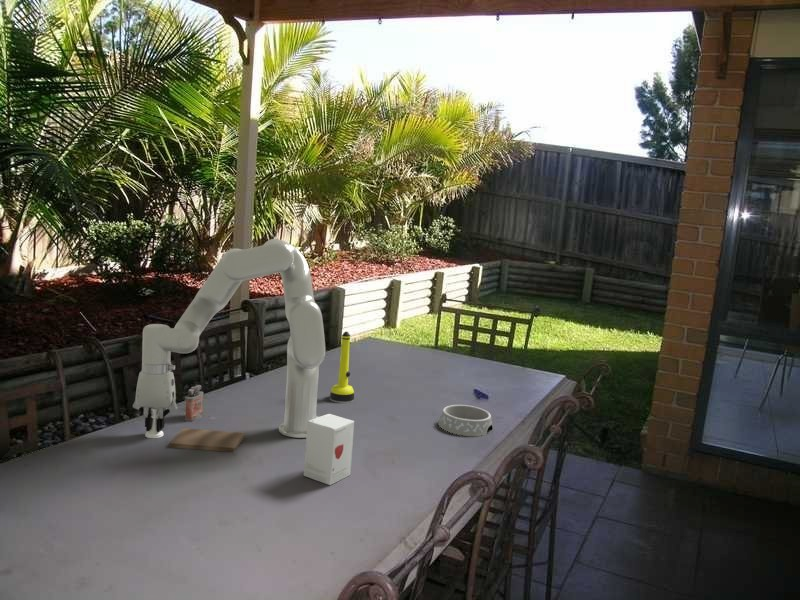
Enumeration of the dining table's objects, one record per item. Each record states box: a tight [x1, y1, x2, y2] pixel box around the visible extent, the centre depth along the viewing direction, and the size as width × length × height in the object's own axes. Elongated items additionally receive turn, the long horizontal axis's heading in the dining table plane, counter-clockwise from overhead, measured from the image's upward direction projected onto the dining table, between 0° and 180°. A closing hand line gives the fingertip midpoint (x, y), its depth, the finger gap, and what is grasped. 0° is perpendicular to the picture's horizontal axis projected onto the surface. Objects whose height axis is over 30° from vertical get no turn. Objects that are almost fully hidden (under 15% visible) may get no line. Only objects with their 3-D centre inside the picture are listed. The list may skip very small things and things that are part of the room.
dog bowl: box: [437, 404, 493, 437], centre depth 214 cm, size 17×18×5 cm
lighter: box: [184, 384, 204, 423], centre depth 202 cm, size 8×3×10 cm, turn 168°
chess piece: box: [145, 408, 164, 439], centre depth 185 cm, size 5×5×10 cm
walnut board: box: [168, 427, 246, 453], centre depth 184 cm, size 18×12×1 cm, turn 90°
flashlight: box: [329, 331, 355, 404], centre depth 232 cm, size 25×9×9 cm
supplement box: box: [303, 413, 355, 486], centre depth 167 cm, size 9×9×15 cm
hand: (154, 429), depth 186 cm, fingers closed on chess piece
